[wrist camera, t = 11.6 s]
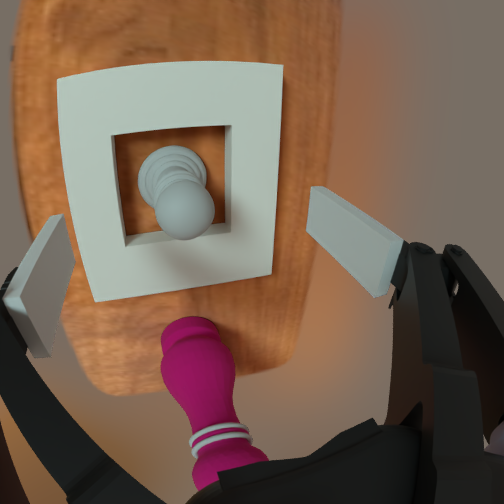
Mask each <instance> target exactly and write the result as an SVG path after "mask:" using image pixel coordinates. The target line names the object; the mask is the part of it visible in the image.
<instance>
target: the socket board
mask: <svg viewBox="0 0 504 504" xmlns="http://www.w3.org/2000/svg"><path fill="white" fill-rule="evenodd" d="M282 82H283V65H277V64H266V63H252V62H232V61H185V62H165V63H152V64H141V65H132V66H124V67H117V68H110V69H104V70H98V71H92V72H87V73H82V74H77V75H73V76H68V77H64V78H60V79H57V101H58V120H59V133H60V144H61V153H62V161H63V169H64V176H65V182H66V188H67V194H68V200H69V205H70V210H71V215H72V220H73V224H74V229H75V233H76V237H77V241H78V245H79V249H80V253H81V257H82V261H83V264H84V268H85V271H86V275H87V278H88V282H89V285H90V288H91V291H92V294H93V297H94V300H95V302H100V301H107V300H115V299H122V298H129V297H135V296H142V295H149V294H156V293H162V292H169V291H175V290H181V289H188V288H194V287H200V286H206V285H213V284H219V283H225V282H231V281H236V280H242V279H248V278H254V277H260V276H265V275H271V273H272V259H273V245H274V230H275V215H276V200H277V183H278V166H279V147H280V127H281V106H282ZM216 125H225V223H218V224H211V225H210V227H209V228H208V229H207V230H206V231H205V232H204V233H203V234H202V235H200V236H198V237H196V238H194V239H191V240H178V239H175V238H173V237H171V236H169V235H168V234H167V233H165V232H164V231H156V232H149V233H142V234H135V235H128V236H126V231H125V225H124V219H123V212H122V206H121V198H120V191H119V182H118V173H117V164H116V153H115V140H114V135H118V134H125V133H133V132H141V131H149V130H159V129H169V128H181V127H196V126H216Z"/></svg>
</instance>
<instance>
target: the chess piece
mask: <svg viewBox="0 0 504 504" xmlns="http://www.w3.org/2000/svg"><path fill="white" fill-rule="evenodd" d="M205 185H206V169H205V166H204V164H203V162H202V160H201V159H200V157H199V156H198V155H197V154H196V153H195V152H193V151H192V150H190V149H188V148H185V147H182V146H167V147H163V148H160V149H158V150H156V151H154V152H153V153H152V154H150V155H149V156H148V157H147V158H146V160H145V161H144V162H143V164H142V166H141V168H140V171H139V175H138V187H139V191H140V193H141V195H142V197H143V199H144V200H145V201H146V202H147V203H148V204H149V205H150V206H151V207H153V208H154V209H155V215H156V219H157V221H158V223H159V225H160V227H161V228H162V229H163V231H164V232H165V233H167V234H168V235H169V236H171V237H173V238H175V239H178V240H191V239H194V238H196V237H198V236H200V235H202V234H203V233H204V232H205V231H206V230H207V229H208V228H209V227H210V225H211V223H212V221H213V219H214V214H215V207H214V202H213V200H212V197H211V196H210V194H209V192H208V191H207V190H206V189H205Z"/></svg>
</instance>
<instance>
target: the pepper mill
mask: <svg viewBox="0 0 504 504" xmlns="http://www.w3.org/2000/svg"><path fill="white" fill-rule="evenodd" d="M161 345H162V351H163V355H164V356H163V358H162V361H161V374H162V377H163V380H164V383H165V385H166V387H167V389H168V390H169V392H170V394H172V396H173V397H174V398H175V400H176V401H177V402H178V403H179V404H180V406H181V407H182V408H183V409H184V411H185V412H186V414H187V416H188V418H189V421H190V424H191V427H192V433H193V436H192V437H191V438H190V440H189V444H190V446H191V447H192V455H193V456H194V457H195V458H197V462H196V463H195V465H194V468H193V471H192V477H193V481H194V484H195V486H196V488H197V489H198V491H200V490H201V489H202V488H204V487H206V486H207V485H209V484H211V483H213V482H215V481H217V480H219V479H218V475H217V472H218V471H223V470H228V469H232V468H236V467H240V466H244V465H248V464H252V463H255V462H259V461H269V459H268V458H267V456H266V455H265V454H264V453H263V452H262V451H261V450H260V449H258V448H256V447H253V446H251V445H252V442H253V438H252V437H251V436H250V435H249V429H248V427H247V426H245V425H243V424H240V422H239V420H238V418H237V416H236V413H235V409H234V406H233V399H232V395H233V388H234V382H235V364H234V360H233V357H232V354H231V352H230V350H229V349H228V348H227V347H226V346H225V345H224V344H223V343H221V339H220V336H219V333H218V331H217V328H216V327H215V325H214V324H213V323H212V322H210V321H209V320H207V319H204V318H201V317H185V318H181V319H178V320H176V321H174V322H172V323H171V324H170V325H168V326H167V327H166V329H165V330H164V331H163V333H162V336H161Z"/></svg>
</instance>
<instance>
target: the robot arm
mask: <svg viewBox="0 0 504 504" xmlns="http://www.w3.org/2000/svg"><path fill="white" fill-rule="evenodd" d="M306 232H308V233H309V234H310V235H311V236H312V237H313V238H314V239H315V240H316V241H317V242H318V243H319V244H320V245H321V246H322V247H323V248H324V249H326V251H328V253H329V254H331V255H332V256H333V257H334V258H335V259H336V260H337V261H338V262H339V263H340V264H341V265H342V266H343V267H344V268H345V269H346V270H347V271H348V272H349V273H350V274H351V275H352V276H353V277H354V278H355V279H356V280H357V281H358V282H359V283H360V284H361V285H362V286H363V287H364V288H365V289H366V290H367V291H368V292H369V293H370V294H371V295H372V296H373V297H374V298H376V297H380V296H383V295H386V294H387V292H388V289H389V286H390V283H392V284H393V285H394V286H395V287H396V288H395V291H394V294H393V296H392V299H391V302H390V304H389V308H391V306H392V305H393V351H392V370H391V382H390V394H389V404H388V412H387V417H386V420H385V423H384V425H377V423H376V422H375V420H374V419H373V418H371V419H369V420H367V421H365V422H363V423H361V424H358V425H356V426H354V427H352V428H350V429H348V430H345V431H343V432H341V433H339V434H338V435H337V436H335V437H334V438H333V439H331V440H330V441H329V442H327V443H326V444H325V445H323V446H322V447H321V448H319V449H318V450H316V451H315V452H313V453H312V454H311V455H309V456H307V457H302V458H294V459H284V460H272V461H259V462H255V463H252V464H248V465H244V466H240V467H236V468H232V469H228V470H223V471H218V472H217V475H218V479H219V480H217V481H215V482H213V483H211V484H209V485H207V486H206V487H204V488H202V489H201V490H200V491H198V492H197V493H196V494H195V495H193V496H192V497H191V498H190V499H189V500H188V501H187V503H186V504H504V301H503V300H502V298H501V297H500V296H499V294H498V293H497V291H496V290H495V288H494V287H493V286H492V284H491V283H490V281H489V280H488V279H487V277H486V276H485V275H484V273H483V272H482V271H481V270H480V268H479V267H478V266H477V264H476V263H475V262H474V261H473V260H472V258H471V257H470V256H469V254H468V253H467V252H466V251H465V250H463V249H462V248H461V247H460V246H457V245H452V244H447V245H445V248H444V251H443V254H436V253H435V251H434V250H433V249H432V248H431V247H429V246H428V245H426V244H423V243H418V242H412V243H410V244H409V243H407V242H406V241H405V240H403V239H402V238H401V237H399V236H397V235H396V234H395V233H393V232H392V231H391V230H389V229H388V228H386V227H385V226H383V225H382V224H381V223H379V222H377V221H376V220H375V219H373V218H372V217H370V216H369V215H367V214H366V213H364V212H363V211H361V210H360V209H358V208H357V207H355V206H354V205H352V204H350V203H349V202H347V201H346V200H344V199H343V198H341V197H339V196H338V195H336V194H335V193H333V192H331V191H330V190H328V189H327V188H325V187H323V186H313V187H311V193H310V202H309V210H308V219H307V227H306ZM75 262H76V261H75V258H74V254H73V251H72V247H71V243H70V239H69V235H68V231H67V227H66V223H65V218H64V214H59V215H54V216H50V217H49V219H48V220H47V222H46V223H45V225H44V226H43V228H42V229H41V231H40V232H39V234H38V236H37V237H36V239H35V240H34V242H33V244H32V245H31V247H30V249H29V250H28V252H27V254H26V255H25V257H24V259H23V260H22V262H21V264H20V266H19V267H16V268H14V269H13V270H12V271H11V272H10V274H8V276H7V278H6V280H5V282H4V284H3V285H2V287H1V290H0V395H1V397H2V399H3V401H4V403H5V405H6V407H7V409H8V410H9V412H10V414H11V416H12V418H13V419H14V421H15V423H16V424H17V426H18V428H19V429H20V431H21V433H22V434H23V436H24V437H25V439H26V441H27V442H28V444H29V445H30V447H31V448H32V450H33V451H34V452H35V454H36V455H37V457H38V458H39V460H40V461H41V462H42V464H43V465H44V467H45V468H46V469H47V471H48V472H49V473H50V474H51V476H52V477H53V478H54V480H55V481H56V482H57V483H58V484H59V486H60V487H61V488H62V489H63V491H64V492H65V493H66V495H67V498H66V500H67V502H68V504H166V503H165V502H164V501H162V500H161V499H160V498H158V497H157V496H156V495H154V494H153V493H151V492H150V491H149V490H148V489H147V488H145V487H144V486H143V485H141V484H140V483H139V482H138V481H137V480H136V479H134V478H133V477H132V476H131V475H130V474H128V473H127V472H126V471H125V470H124V469H123V468H122V467H120V466H119V465H118V464H117V463H116V462H115V461H114V460H113V459H112V458H110V457H109V456H108V455H107V454H106V453H105V452H104V451H103V450H102V449H101V448H100V447H99V446H98V445H97V444H96V443H95V442H94V441H93V440H92V439H91V438H90V437H89V435H88V434H87V433H86V432H85V431H84V430H83V429H82V428H81V427H80V426H79V425H78V423H77V422H76V421H75V420H74V419H73V418H72V417H71V416H70V414H69V413H68V412H67V411H66V409H65V408H64V407H63V406H62V405H61V403H60V402H59V401H58V400H57V398H56V397H55V396H54V394H53V393H52V392H51V391H50V389H49V388H48V387H47V385H46V384H45V383H44V381H43V380H42V379H41V377H40V376H39V374H38V373H37V371H36V370H35V368H34V367H33V365H32V364H31V362H30V361H29V359H28V358H27V356H26V351H27V348H28V349H29V350H30V352H31V353H32V355H33V357H34V358H45V357H51V354H52V349H53V344H54V339H55V334H56V330H57V326H58V321H59V317H60V313H61V310H62V306H63V302H64V298H65V295H66V291H67V288H68V284H69V281H70V278H71V275H72V271H73V268H74V265H75ZM457 284H458V285H459V286H458V292H457V294H456V295H455V293H454V291H455V288H456V286H457ZM483 434H484V436H485V439H486V440H487V442H488V444H489V445H488V446H487V447H486V448H485V449H484V441H483V440H484V439H483ZM0 504H30V503H29V501H28V498H27V496H26V494H25V492H24V490H23V487H22V485H21V483H20V480H19V477H18V475H17V472H16V470H15V467H14V465H13V461H12V459H11V456H10V453H9V450H8V446H7V443H6V440H5V437H4V433H3V430H2V426H1V422H0Z"/></svg>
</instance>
